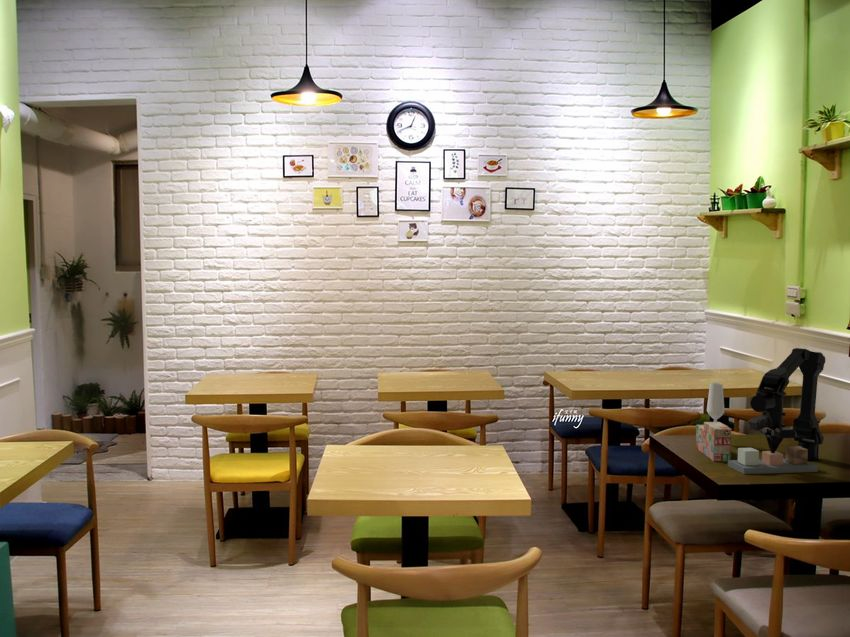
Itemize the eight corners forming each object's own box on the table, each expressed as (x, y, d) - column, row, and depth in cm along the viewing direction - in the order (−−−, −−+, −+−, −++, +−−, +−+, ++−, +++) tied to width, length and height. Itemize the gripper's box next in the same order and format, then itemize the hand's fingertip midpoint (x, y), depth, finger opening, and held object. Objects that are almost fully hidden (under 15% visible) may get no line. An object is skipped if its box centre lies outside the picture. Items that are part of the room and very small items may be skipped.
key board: (799, 463, 282) (799, 458, 282) (817, 471, 271) (817, 466, 271) (727, 465, 279) (727, 460, 278) (743, 474, 268) (743, 468, 268)
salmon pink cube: (774, 464, 277) (775, 450, 277) (782, 468, 272) (783, 454, 272) (761, 465, 277) (762, 451, 276) (769, 468, 272) (769, 454, 272)
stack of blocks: (695, 448, 306) (696, 416, 305) (711, 448, 306) (712, 417, 305) (713, 461, 285) (714, 428, 284) (730, 462, 285) (731, 428, 284)
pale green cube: (751, 461, 276) (751, 447, 276) (758, 465, 271) (759, 450, 271) (737, 461, 276) (738, 447, 275) (744, 465, 271) (745, 451, 270)
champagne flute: (719, 445, 309) (721, 385, 308) (703, 443, 314) (704, 383, 312) (726, 442, 314) (728, 383, 313) (709, 440, 319) (711, 381, 317)
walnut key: (798, 460, 278) (799, 446, 278) (807, 463, 273) (807, 449, 273) (785, 460, 278) (786, 446, 277) (793, 464, 273) (794, 449, 272)
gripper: (738, 404, 282) (737, 447, 283) (766, 414, 263) (765, 460, 264) (767, 403, 283) (766, 446, 284) (797, 413, 264) (796, 459, 265)
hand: (772, 452), depth 274 cm, fingers closed, pressing on salmon pink cube
